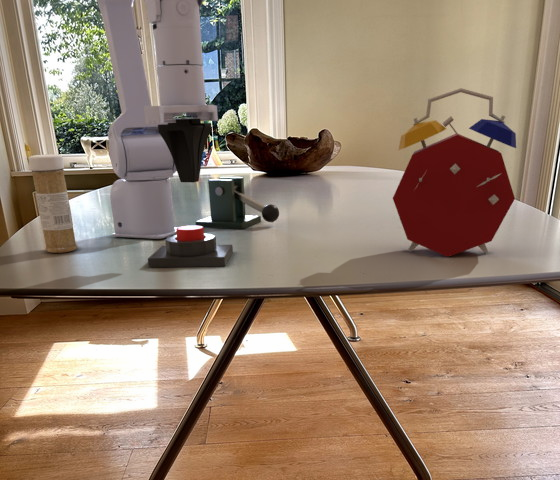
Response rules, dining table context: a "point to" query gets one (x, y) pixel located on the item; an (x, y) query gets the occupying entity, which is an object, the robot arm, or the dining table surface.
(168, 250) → the button box
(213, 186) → the bracket
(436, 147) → the alarm clock
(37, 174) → the sprinkles bottle
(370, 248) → the dining table surface
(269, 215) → the lever
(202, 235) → the button
